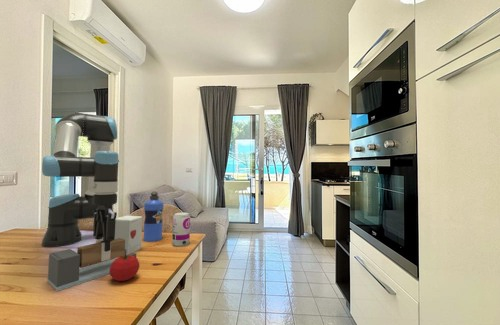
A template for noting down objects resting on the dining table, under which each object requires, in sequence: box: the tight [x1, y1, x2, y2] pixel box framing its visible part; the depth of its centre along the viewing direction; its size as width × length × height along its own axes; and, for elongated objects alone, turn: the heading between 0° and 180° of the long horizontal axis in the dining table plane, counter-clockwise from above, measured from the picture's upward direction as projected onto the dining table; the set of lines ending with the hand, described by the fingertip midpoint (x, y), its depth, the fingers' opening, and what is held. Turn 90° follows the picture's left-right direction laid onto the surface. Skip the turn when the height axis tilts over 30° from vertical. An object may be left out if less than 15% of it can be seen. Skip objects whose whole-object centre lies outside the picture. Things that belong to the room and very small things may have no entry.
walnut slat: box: [76, 238, 125, 269], centre depth 81 cm, size 4×14×6 cm, turn 146°
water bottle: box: [142, 191, 164, 243], centre depth 119 cm, size 9×9×25 cm
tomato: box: [109, 254, 140, 282], centre depth 76 cm, size 9×9×8 cm
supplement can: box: [171, 211, 191, 247], centre depth 112 cm, size 8×8×15 cm
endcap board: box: [46, 248, 137, 292], centre depth 80 cm, size 10×24×9 cm, turn 145°
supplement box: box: [115, 215, 143, 255], centre depth 101 cm, size 9×9×15 cm
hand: (102, 258), depth 81 cm, fingers closed on walnut slat, 4 cm apart
